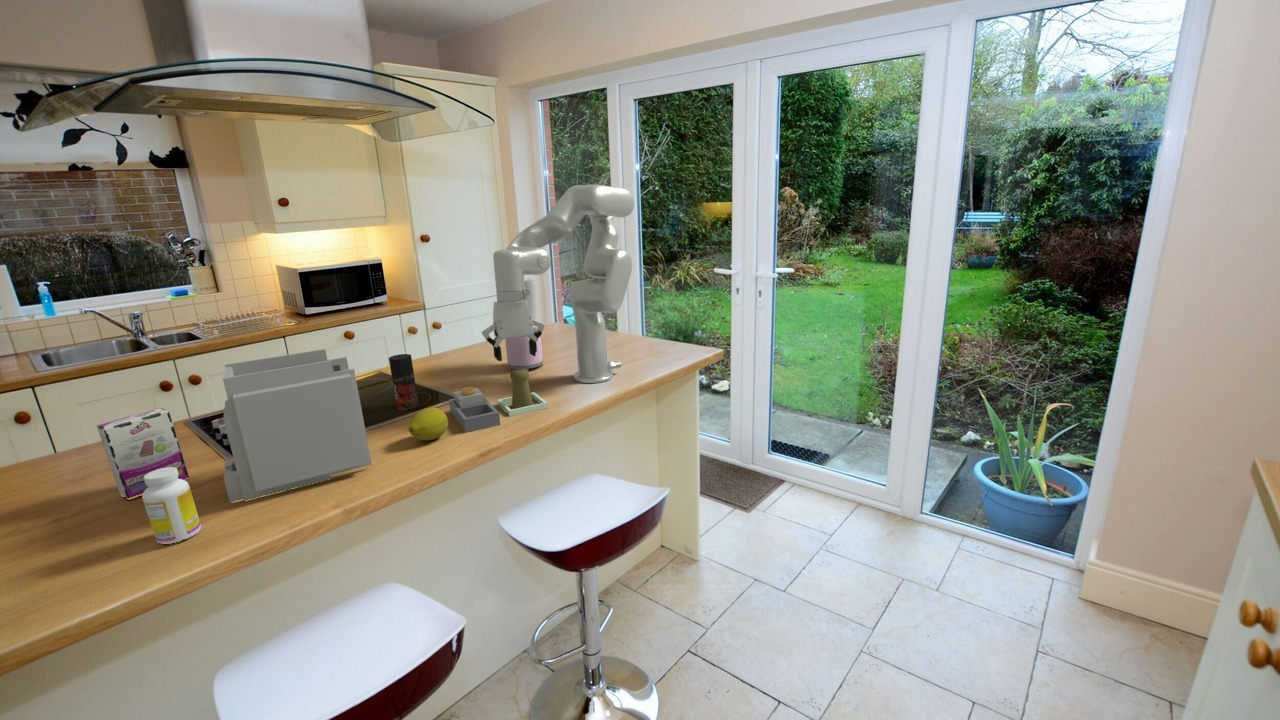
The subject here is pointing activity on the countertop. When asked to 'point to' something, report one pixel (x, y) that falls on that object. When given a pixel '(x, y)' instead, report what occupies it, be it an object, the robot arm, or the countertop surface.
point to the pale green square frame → (526, 409)
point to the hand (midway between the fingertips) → (516, 357)
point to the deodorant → (403, 381)
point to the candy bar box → (141, 449)
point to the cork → (520, 388)
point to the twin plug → (468, 397)
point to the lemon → (428, 424)
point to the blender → (525, 338)
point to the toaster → (291, 423)
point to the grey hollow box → (475, 415)
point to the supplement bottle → (170, 506)
